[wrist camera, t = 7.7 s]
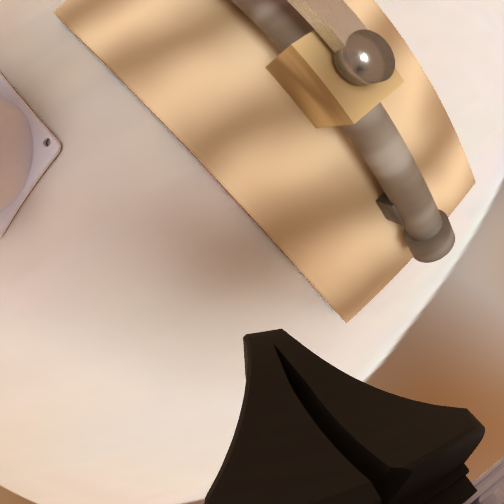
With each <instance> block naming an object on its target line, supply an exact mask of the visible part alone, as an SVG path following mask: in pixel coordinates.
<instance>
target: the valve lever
mask: <svg viewBox="0 0 504 504" xmlns="http://www.w3.org/2000/svg"><path fill="white" fill-rule="evenodd" d="M287 1H288V2H289V3H290V4H291V5H292V6H293V7H294V8H295V9H296V10H297V11H298V12H299V13H300V14H301V15H302V16H303V17H304V18H305V19H306V20H307V22H308V23H309V24H310V25H311V26H312V27H313V28H314V29H315V30H316V31H317V33H318V34H319V35H320V36H321V37H322V38H323V40H324V41H325V42H326V43H327V44H328V45H329V47H330V48H331V49H332V50H333V58H334V63H335V65H336V68H337V70H338V71H339V73H340V74H341V75H342V76H343V77H344V78H345V79H346V80H347V81H349V82H350V83H352V84H355V85H359V86H367V85H370V84H374V83H379V82H383V81H386V80H388V79H389V78H390V77H391V76H392V74H393V72H394V69H395V57H394V54H393V51H392V49H391V47H390V46H389V44H388V43H387V41H386V40H385V39H384V38H383V37H381V36H380V35H379V34H377V33H375V32H373V31H371V30H368V29H367V28H366V26H365V25H364V24H363V23H362V22H361V20H360V19H359V18H358V17H357V15H356V14H355V13H354V12H353V11H352V10H351V8H350V7H349V6H348V5H347V4H346V3H345V2H344V1H343V0H287Z"/></svg>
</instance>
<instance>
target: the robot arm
mask: <svg viewBox="0 0 504 504" xmlns="http://www.w3.org/2000/svg"><path fill="white" fill-rule="evenodd" d="M48 138H49V139H50V141H51V143H50V145H49V146H47V145H46V141H47V139H48ZM60 150H61V144H60V142H59V141H58V139H57V138H56V137H55V136H54V135H53V134H52V133H51V132H50V131H49V129H48V128H47V127H46V126H45V125H44V124H43V123H42V121H41V120H40V119H39V118H38V117H37V116H36V115H35V113H34V112H33V111H32V110H31V109H30V108H29V106H28V105H27V104H26V103H25V102H24V101H23V99H22V98H21V97H20V96H19V95H18V93H17V92H16V91H15V90H14V89H13V87H12V86H11V85H10V84H9V82H8V81H7V80H6V79H5V77H4V76H3V75H2V74H1V72H0V238H1V237H2V236H3V234H4V232H5V231H6V229H7V227H8V226H9V224H10V222H11V221H12V219H13V217H14V216H15V214H16V213H17V211H18V209H19V208H20V206H21V205H22V203H23V202H24V200H25V199H26V197H27V196H28V194H29V193H30V191H31V190H32V188H33V187H34V186H35V184H36V183H37V181H38V180H39V179H40V177H41V176H42V174H43V173H44V172H45V170H46V169H47V168H48V166H49V165H50V164H51V163H52V161H53V160H54V159H55V157H56V156H57V155H58V154H59V152H60ZM243 342H244V358H245V374H246V386H245V393H244V399H243V404H242V408H241V412H240V416H239V420H238V423H237V427H236V430H235V433H234V436H233V439H232V442H231V445H230V447H229V450H228V452H227V454H226V457H225V459H224V462H223V464H222V466H221V469H220V471H219V473H218V475H217V477H216V478H215V480H214V482H213V484H212V486H211V488H210V490H209V492H208V493H207V495H206V497H205V503H204V504H504V456H503V457H502V458H501V459H500V460H499V461H497V462H496V463H495V464H494V465H493V466H492V467H491V468H490V469H488V470H487V471H486V472H484V473H483V474H482V475H481V476H480V477H478V478H477V479H476V480H475V481H473V482H472V483H471V482H470V480H469V479H468V478H467V477H466V474H467V473H468V472H469V469H468V468H467V467H466V465H465V464H464V463H465V461H466V460H467V459H468V458H469V456H470V455H471V454H472V452H473V451H474V450H475V449H476V447H477V446H478V444H479V443H480V441H481V440H482V438H483V436H484V433H485V427H484V426H483V425H482V424H481V423H480V422H479V421H478V420H477V419H476V418H475V417H474V416H473V415H472V414H471V413H470V412H469V410H467V409H465V408H455V407H447V406H438V405H433V404H427V403H423V402H419V401H414V400H410V399H407V398H403V397H400V396H397V395H394V394H391V393H388V392H385V391H383V390H380V389H377V388H375V387H373V386H370V385H368V384H366V383H364V382H362V381H360V380H357V379H355V378H353V377H351V376H350V375H348V374H346V373H344V372H342V371H341V370H339V369H337V368H336V367H334V366H332V365H331V364H329V363H328V362H326V361H324V360H323V359H321V358H320V357H319V356H317V355H316V354H314V353H313V352H311V351H310V350H309V349H307V348H306V347H305V346H303V345H302V344H301V343H299V342H298V341H297V340H296V339H294V338H293V337H292V336H290V335H289V334H288V333H287V332H285V331H284V330H283V329H278V330H271V331H265V332H259V333H252V334H246V335H245V336H244V337H243Z"/></svg>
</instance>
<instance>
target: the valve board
mask: <svg viewBox="0 0 504 504" xmlns="http://www.w3.org/2000/svg"><path fill="white" fill-rule="evenodd" d="M343 1H344V2H345V3H346V4H347V5H348V6H349V7H350V8H351V10H352V11H353V12H354V13H355V14H356V15H357V17H358V18H359V19H360V20H361V22H362V23H363V24H364V25H365V26H366V28H367V29H368V30H371V31H373V32H375V33H377V34H379V35H380V36H381V37H383V38H384V39H385V40H386V41H387V43H388V44H389V46H390V47H391V49H392V51H393V54H394V57H395V69H394V72H393V74H392V76H391V77H390V78H389V79H388V80H386V81H383V82H379V83H374V84H370V85H367V86H359V85H355V84H352V83H350V82H349V81H347V80H346V79H345V78H344V77H343V76H342V75H341V74H340V73H339V71H338V70H337V68H336V65H335V63H334V58H333V50H332V49H331V48H330V47H329V45H328V44H327V43H326V42H325V41H324V40H323V38H322V37H321V36H320V35H319V34H318V33H317V31H316V30H315V29H314V28H313V27H312V26H311V25H310V24H309V23H308V22H307V20H306V19H305V18H304V17H303V16H302V15H301V14H300V13H299V12H298V11H297V10H296V9H295V8H294V7H293V6H292V5H291V4H290V3H289V2H288V1H287V0H67V1H66V2H64V3H63V4H62V5H61V6H60V7H59V8H58V9H57V10H56V11H54V12H53V13H54V14H55V15H56V16H57V17H58V18H59V19H60V20H61V21H62V22H63V23H64V24H65V25H66V26H67V27H68V28H69V29H70V30H71V31H72V32H74V33H75V34H76V35H77V36H78V37H79V38H80V39H81V40H82V41H83V42H84V43H85V44H86V45H87V46H88V47H89V48H90V49H91V50H92V51H93V52H94V53H95V54H96V55H97V56H98V57H99V58H100V59H101V60H102V61H103V62H104V63H105V64H106V65H107V66H108V67H109V68H110V69H111V70H112V71H113V72H114V73H115V74H116V75H117V76H118V77H119V78H120V79H121V80H122V81H123V82H124V83H125V84H126V85H127V86H128V87H129V88H130V89H131V90H132V91H133V92H134V93H135V94H136V95H137V96H138V97H139V98H140V99H141V100H142V102H143V103H144V104H145V105H146V106H147V107H148V108H149V109H150V110H151V111H152V112H153V113H154V114H155V115H156V116H157V117H158V118H159V119H160V120H161V121H162V122H163V123H164V124H165V125H166V126H167V127H168V128H169V129H170V130H171V132H172V133H173V134H174V135H175V136H176V137H177V138H178V139H179V140H180V141H181V142H182V143H183V144H184V145H185V146H186V147H187V148H188V149H189V150H190V151H191V153H192V154H193V155H194V156H195V157H196V158H197V159H198V160H199V161H200V162H201V163H202V164H203V165H204V166H205V167H206V168H207V170H208V171H209V172H210V173H211V174H212V175H213V176H214V177H215V178H216V179H217V180H218V181H219V182H220V183H221V185H222V186H223V187H224V188H225V189H226V190H227V191H228V192H229V193H230V194H231V195H232V196H233V197H234V199H235V200H236V201H237V202H238V203H239V204H240V205H241V206H242V207H243V208H244V209H245V210H246V212H247V213H248V214H249V215H250V216H251V217H252V218H253V219H254V220H255V221H256V222H257V224H258V225H259V226H260V227H261V228H262V229H263V230H264V231H265V232H266V233H267V235H268V236H269V237H270V238H271V239H272V240H273V241H274V242H275V243H276V245H277V246H278V247H279V248H280V249H281V250H282V251H283V252H284V253H285V255H286V256H287V257H288V258H289V259H290V260H291V261H292V262H293V263H294V265H295V266H296V267H297V268H298V269H299V270H300V271H301V272H302V274H303V275H304V276H305V277H306V278H307V279H308V280H309V281H310V283H311V284H312V285H313V286H314V287H315V288H316V289H317V290H318V292H319V293H320V294H321V295H322V296H323V297H324V298H325V300H326V301H327V302H328V303H329V304H330V305H331V306H332V308H333V309H334V310H335V311H336V312H337V313H338V314H339V315H340V317H341V318H342V319H343V320H344V321H345V322H346V323H347V322H348V321H349V320H350V319H351V318H353V317H354V316H355V315H356V314H357V313H358V312H359V311H360V310H361V309H362V308H363V307H364V306H365V305H366V304H367V303H368V302H370V301H371V300H372V299H373V298H374V297H375V296H376V295H377V294H378V293H379V292H380V291H381V290H382V289H383V288H384V287H385V286H386V285H387V284H388V283H389V282H390V281H391V280H392V279H393V278H394V277H395V276H396V275H397V274H398V272H399V271H400V270H401V269H402V268H403V267H404V266H405V265H406V264H407V263H408V262H409V261H410V260H411V259H412V258H413V257H414V258H415V259H416V260H418V261H420V262H425V263H428V262H434V261H437V260H439V259H441V258H443V257H444V256H445V255H447V254H448V253H449V252H450V250H451V249H452V247H453V245H454V242H455V235H454V232H453V230H452V227H451V224H450V222H449V219H448V217H449V215H450V214H451V213H452V212H453V211H454V209H455V208H456V207H457V206H458V204H459V203H460V202H461V201H462V199H463V198H464V197H465V195H466V194H467V193H468V192H469V190H470V189H471V188H472V186H473V185H474V184H475V179H474V176H473V174H472V171H471V168H470V166H469V163H468V160H467V158H466V155H465V153H464V150H463V148H462V146H461V143H460V141H459V139H458V136H457V134H456V132H455V130H454V127H453V125H452V123H451V121H450V119H449V117H448V115H447V113H446V111H445V109H444V107H443V105H442V103H441V101H440V99H439V97H438V95H437V93H436V92H435V90H434V88H433V86H432V84H431V83H430V81H429V79H428V77H427V76H426V74H425V72H424V71H423V69H422V67H421V66H420V64H419V62H418V61H417V59H416V58H415V56H414V55H413V53H412V51H411V50H410V48H409V47H408V45H407V44H406V42H405V41H404V40H403V38H402V37H401V35H400V34H399V32H398V31H397V30H396V28H395V27H394V26H393V24H392V23H391V22H390V20H389V19H388V18H387V16H386V15H385V14H384V12H383V11H382V10H381V9H380V7H379V6H378V5H377V4H376V2H375V1H374V0H343Z"/></svg>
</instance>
